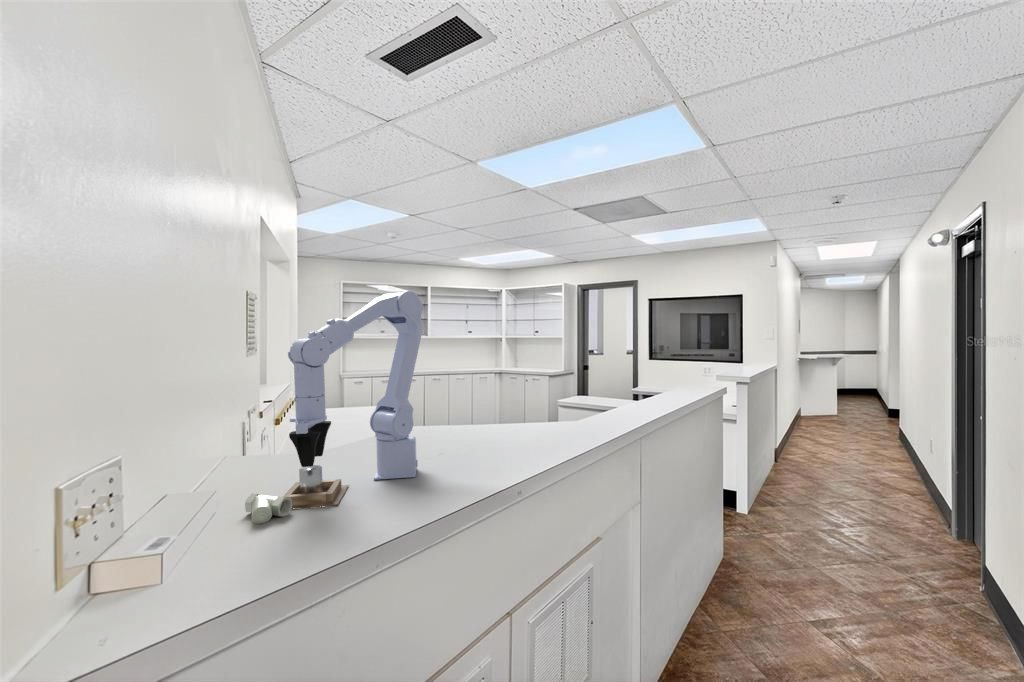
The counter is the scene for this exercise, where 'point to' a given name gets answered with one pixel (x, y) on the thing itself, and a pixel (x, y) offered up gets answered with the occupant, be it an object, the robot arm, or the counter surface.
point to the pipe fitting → (267, 507)
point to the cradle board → (317, 495)
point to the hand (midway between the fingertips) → (312, 461)
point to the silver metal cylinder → (311, 479)
